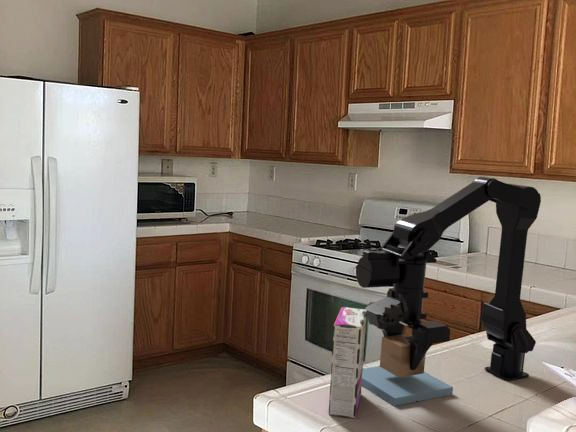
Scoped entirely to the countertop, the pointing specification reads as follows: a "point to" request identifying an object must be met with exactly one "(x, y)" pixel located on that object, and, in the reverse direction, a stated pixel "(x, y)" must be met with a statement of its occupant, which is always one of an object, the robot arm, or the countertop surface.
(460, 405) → the countertop surface
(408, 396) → the slate board
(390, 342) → the walnut cube
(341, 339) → the candy bar box
